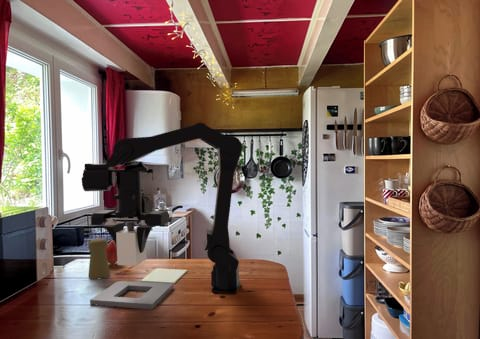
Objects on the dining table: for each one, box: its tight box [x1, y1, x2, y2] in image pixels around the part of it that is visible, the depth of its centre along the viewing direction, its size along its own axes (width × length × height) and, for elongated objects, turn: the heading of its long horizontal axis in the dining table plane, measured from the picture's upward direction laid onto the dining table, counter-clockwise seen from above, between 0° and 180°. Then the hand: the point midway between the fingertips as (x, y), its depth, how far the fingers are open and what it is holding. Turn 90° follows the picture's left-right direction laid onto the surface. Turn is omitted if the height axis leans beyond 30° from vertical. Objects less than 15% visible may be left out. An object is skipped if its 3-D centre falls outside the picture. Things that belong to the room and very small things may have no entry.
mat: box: [140, 268, 188, 285], centre depth 97 cm, size 10×10×1 cm
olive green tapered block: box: [87, 237, 111, 280], centre depth 99 cm, size 6×6×11 cm
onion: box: [106, 239, 117, 265], centre depth 109 cm, size 6×6×8 cm
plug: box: [116, 221, 147, 267], centre depth 83 cm, size 5×5×10 cm
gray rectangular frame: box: [89, 280, 174, 310], centre depth 84 cm, size 16×12×1 cm
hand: (131, 252), depth 83 cm, fingers closed on plug, 5 cm apart
